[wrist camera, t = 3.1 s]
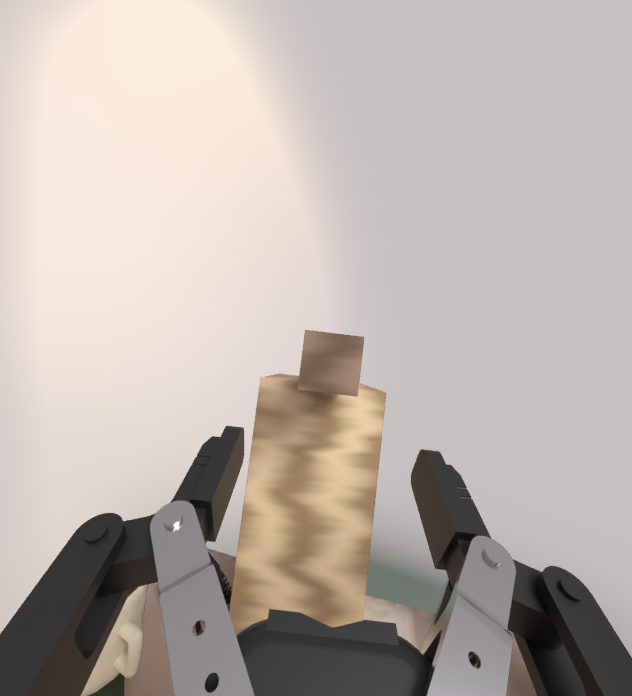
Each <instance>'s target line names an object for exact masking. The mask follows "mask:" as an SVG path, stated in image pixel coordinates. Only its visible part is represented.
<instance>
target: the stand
mask: <svg viewBox="0 0 632 696" xmlns="http://www.w3.org/2000/svg"><path fill="white" fill-rule="evenodd" d="M298 383H299V376H295V375H286V374H276V375H271V376H266V377H261V378H260V385H259V393H258V401H257V408H256V415H255V423H254V430H253V438H252V446H251V452H250V460H249V468H248V475H247V483H246V491H245V497H244V505H243V512H242V520H241V528H240V535H239V542H238V550H237V557H236V565H235V572H234V580H233V587H232V595H231V602H230V610H229V615H230V618H231V621H232V624H233V628H234V631H235V634H236V635H237V634H239V633H240V632H241V631H242V630H244V629H245V628H247V627H248V626H250V625H252V624H254V623H256V622H259V621H262V620H265V619H268V614H269V609H275V610H283V611H292V612H300V613H302V614H305V615H307V616H309V617H311V618H313V619H315V620H317V621H319V622H321V623H323V624H326V625H328V626H330V627H338V626H342V625H346V624H350V623H354V622H358V621H363V614H364V605H365V595H366V585H367V575H368V566H369V556H370V546H371V536H372V527H373V517H374V506H375V497H376V487H377V478H378V469H379V459H380V449H381V440H382V430H383V420H384V419H383V418H384V410H385V401H386V400H385V399H386V393H385V392H382V391H379V390H377V389H374V388H371V387H368V386H366V385H363V384H360V383H359V389H358V397H355V396H347V395H339V394H331V393H322V392H314V391H306V390H298Z"/></svg>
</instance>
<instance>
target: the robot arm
mask: <svg viewBox="0 0 632 696" xmlns="http://www.w3.org/2000/svg"><path fill="white" fill-rule="evenodd" d="M243 458H244V428H242V427H232V426H226V427H225V429H224V431H223V433H222V435H221V437H214V436H213V437H211V438H210V439H209V440H208V441H207V442H205V443H204V444H203V445H202V447H201V449H200V451H199V453H198V454H197V457H196V458H195V460H194V462H193V464H192V466H191V467H190V469H189V471H188V473H187V474H186V476H185V478H184V480H183V482H182V484H181V485H180V487H179V489H178V491H177V493H176V495H175V497H174V498H173V500H172V501H171V502H170V503H169V504H167V505H165V506H163V507H162V508H161V509H160V510H159V511H158V512H157V513H156V514H154V515H151V516H148V517H143V518H138V519H133V520H128V521H123V520H122V518H121V517H120V516H119V515H117V514H114V513H105V514H101V515H98V516H95V517H93V518H91V519H90V520H88V521H87V522H85V523H84V524H83V525H81V526H80V527H79V528H78V529H77V530H76V532H75V533H74V534H73V536H72V537H71V538H70V540H69V541H68V542H67V544H66V545H65V547H64V548H63V549H62V551H61V552H60V554H59V555H58V556H57V557H56V559H55V560H54V562H53V563H52V564H51V566H50V567H49V569H48V570H47V571H46V572H45V574H44V575H43V577H42V578H41V579H40V581H39V582H38V584H37V585H36V586H35V587H34V589H33V590H32V592H31V593H30V594H29V596H28V597H27V598H26V600H25V601H24V603H23V604H22V605H21V607H20V608H19V609H18V611H17V612H16V614H15V615H14V616H13V618H12V619H11V620H10V622H9V623H8V624H7V626H6V627H5V629H4V630H3V631H2V633H1V634H0V696H81V694H82V692H83V690H84V688H85V686H86V684H87V682H88V680H89V678H90V675H91V673H92V671H93V669H94V667H95V665H96V663H97V661H98V659H99V656H100V654H101V652H102V650H103V648H104V646H105V644H106V642H107V640H108V637H109V635H110V633H111V631H112V629H113V627H114V625H115V623H116V621H117V619H118V616H119V614H120V612H121V610H122V608H123V606H124V604H125V602H126V600H127V597H128V595H129V593H130V591H131V589H132V588H136V587H140V586H144V585H147V584H151V583H155V582H158V583H159V590H160V593H159V597H160V605H161V611H162V618H163V624H164V631H165V637H166V643H167V650H168V656H169V663H170V669H171V676H172V682H173V689H174V695H175V696H506V690H507V683H508V675H509V668H510V661H511V653H512V645H513V639H512V635H511V634H510V633H509V632H508V630H510V631H512V632H513V633H514V636H515V638H516V641H517V644H518V646H519V649H520V652H521V654H522V657H523V659H524V662H525V664H526V667H527V670H528V672H529V675H530V677H531V680H532V683H533V685H534V688H535V690H536V693H537V696H632V658H631V656H630V655H629V653H628V651H627V650H626V648H625V647H624V645H623V643H622V642H621V640H620V639H619V637H618V635H617V634H616V632H615V631H614V629H613V628H612V626H611V624H610V623H609V621H608V619H607V618H606V616H605V615H604V613H603V612H602V610H601V608H600V607H599V605H598V604H597V602H596V600H595V599H594V597H593V596H592V594H591V593H590V592H589V590H588V589H587V588H586V586H584V584H583V583H582V582H581V581H580V580H579V579H577V578H576V577H575V576H574V575H572V574H571V573H569V572H568V571H566V570H564V569H562V568H559V567H556V566H549V567H547V568H545V569H544V571H543V572H540V571H538V570H535V569H533V568H531V567H528V566H526V565H524V564H522V563H519V562H517V561H515V560H513V559H512V557H511V556H510V554H509V553H508V552H507V550H506V549H505V548H504V547H503V546H502V545H500V544H499V543H497V542H496V541H495V540H493V539H491V537H490V535H489V533H488V531H487V529H486V527H485V525H484V523H483V521H482V519H481V516H480V514H479V512H478V510H477V508H476V506H475V504H474V502H473V500H472V499H471V496H470V494H469V492H468V490H467V489H466V485H465V483H464V481H463V480H462V478H461V476H460V475H459V473H458V472H457V471H456V470H455V469H454V468H453V467H452V466H451V465H446V464H445V462H444V459H443V457H442V455H441V453H440V452H438V451H431V450H420V452H419V454H418V457H417V460H416V462H415V465H414V468H413V471H412V474H411V485H412V490H413V493H414V496H415V500H416V504H417V507H418V510H419V514H420V517H421V521H422V524H423V528H424V531H425V535H426V538H427V542H428V545H429V549H430V552H431V555H432V559H433V563H434V566H435V568H436V569H442V570H446V571H447V575H448V578H449V579H448V580H447V582H446V585H445V588H444V591H443V594H442V596H441V599H440V602H439V605H438V608H437V611H436V613H435V616H434V619H433V622H432V625H431V628H430V630H429V633H428V635H427V637H426V639H425V641H424V643H423V646H422V648H421V650H420V651H419V650H418V649H417V648H415V647H414V646H413V645H412V644H411V643H409V642H408V641H406V640H405V639H403V638H402V637H400V636H398V635H397V629H396V624H395V623H386V622H378V621H369V620H363V621H358V622H354V623H350V624H346V625H342V626H338V627H330V626H328V625H326V624H323V623H321V622H319V621H317V620H315V619H313V618H311V617H309V616H307V615H305V614H302V613H300V612H292V611H283V610H275V609H269V614H268V619H265V620H262V621H259V622H256V623H254V624H252V625H250V626H248V627H247V628H245V629H244V630H242V631H241V632H240V633H239V634H237V635H236V634H235V631H234V628H233V624H232V621H231V618H230V615H229V611H228V608H227V605H226V602H225V599H224V595H223V592H222V589H221V586H220V582H219V579H218V576H217V573H216V570H215V567H214V564H213V563H212V562H211V560H210V557H209V554H208V551H207V547H206V542H207V541H213V542H215V540H216V538H217V535H218V532H219V529H220V526H221V523H222V520H223V517H224V515H225V512H226V509H227V506H228V503H229V501H230V498H231V495H232V492H233V489H234V486H235V483H236V481H237V478H238V475H239V472H240V469H241V466H242V463H243Z"/></svg>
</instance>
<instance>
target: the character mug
mask: <svg viewBox="0 0 632 696" xmlns="http://www.w3.org/2000/svg"><path fill="white" fill-rule="evenodd" d="M147 589H148V584H147V585H144V586H140V587H136V588H132V589H131V591H130V593H129V595H128V597H127V600H126V602H125V604H124V606H123V608H122V610H121V612H120V614H119V616H118V619H117V621H116V623H115V625H114V627H113V629H112V631H111V633H110V635H109V637H108V640H107V642H106V644H105V646H104V648H103V650H102V652H101V654H100V656H99V659H98V661H97V663H96V665H95V667H94V669H93V671H92V673H91V675H90V678H89V680H88V682H87V684H86V686H85V688H84V690H83V692H82V694H81V696H124V677H127V678H130V677H133V676H134V675H135V673H136V671H137V669H138V667H139V664H140V658H141V651H142V645H143V632H142V630H141V628H142V622H143V615H144V609H145V602H146V596H147Z"/></svg>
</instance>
